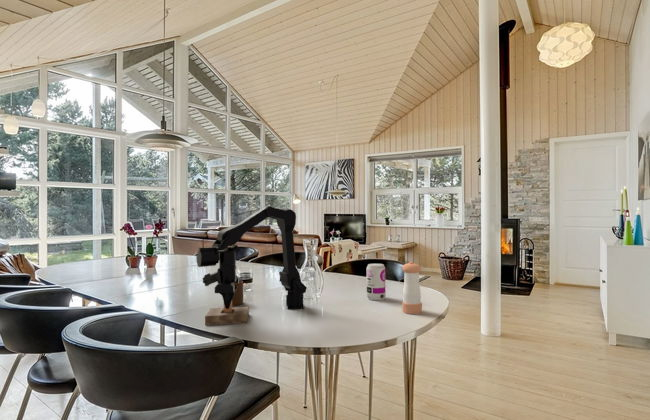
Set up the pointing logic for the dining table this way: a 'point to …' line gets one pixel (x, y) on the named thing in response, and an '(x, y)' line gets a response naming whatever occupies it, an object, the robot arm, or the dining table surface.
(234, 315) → the hole block
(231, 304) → the peg
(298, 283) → the robot arm
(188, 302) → the dining table surface
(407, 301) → the pepper shaker
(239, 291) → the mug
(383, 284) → the supplement can
